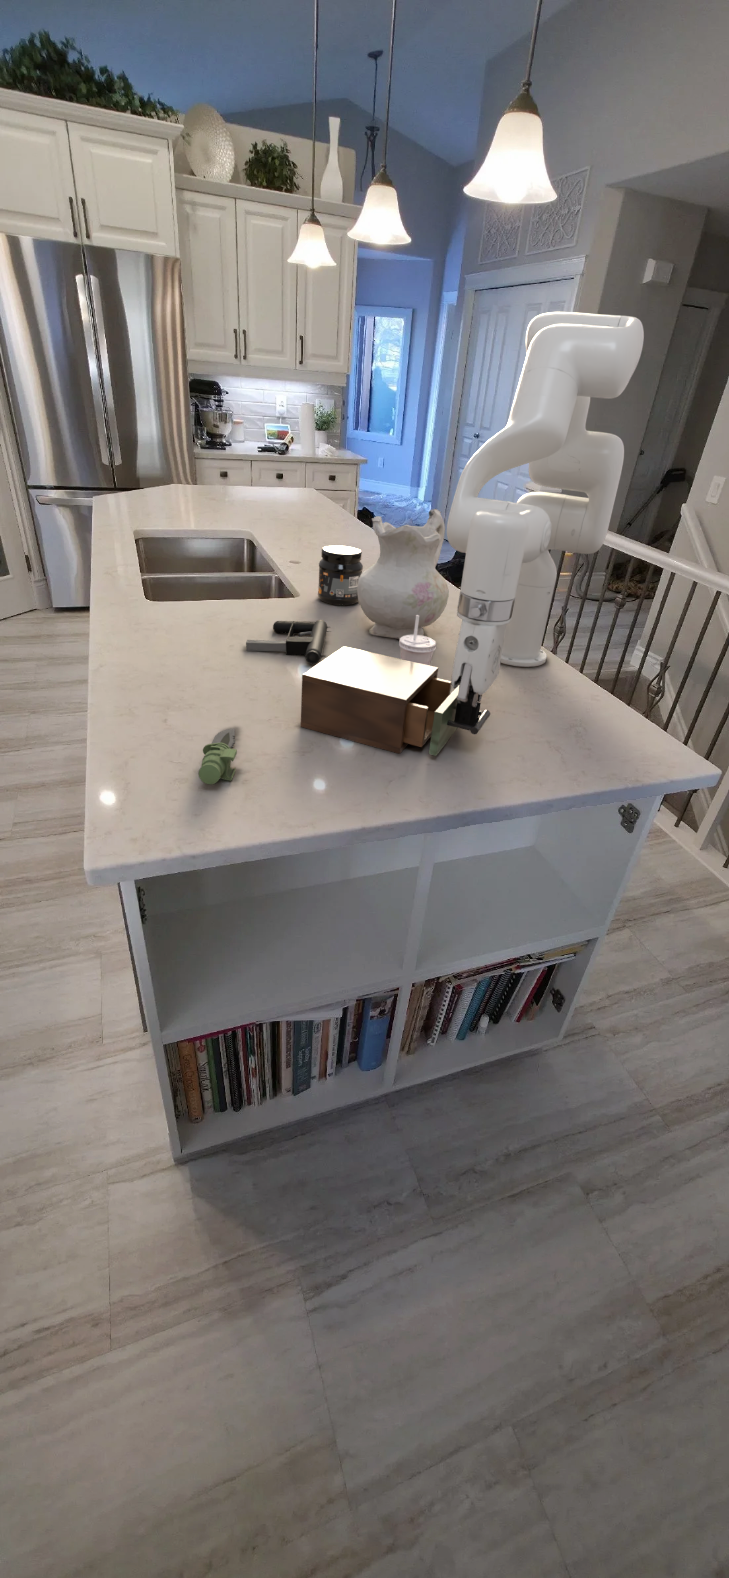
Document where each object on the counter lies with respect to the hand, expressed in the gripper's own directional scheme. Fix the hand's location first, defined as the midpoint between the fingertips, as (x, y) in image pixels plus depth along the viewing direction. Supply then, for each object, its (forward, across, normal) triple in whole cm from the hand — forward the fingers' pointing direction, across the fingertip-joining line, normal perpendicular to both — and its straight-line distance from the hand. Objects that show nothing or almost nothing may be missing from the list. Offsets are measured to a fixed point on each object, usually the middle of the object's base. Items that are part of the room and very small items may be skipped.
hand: (464, 726), depth 103 cm
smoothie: (+4, +15, +14) cm, 21 cm away
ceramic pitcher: (+4, +46, +28) cm, 54 cm away
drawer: (+3, 0, +7) cm, 8 cm away
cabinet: (+4, 0, +16) cm, 16 cm away
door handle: (+4, +23, +43) cm, 49 cm away
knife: (+4, -22, +29) cm, 36 cm away
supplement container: (+4, +58, +49) cm, 76 cm away
